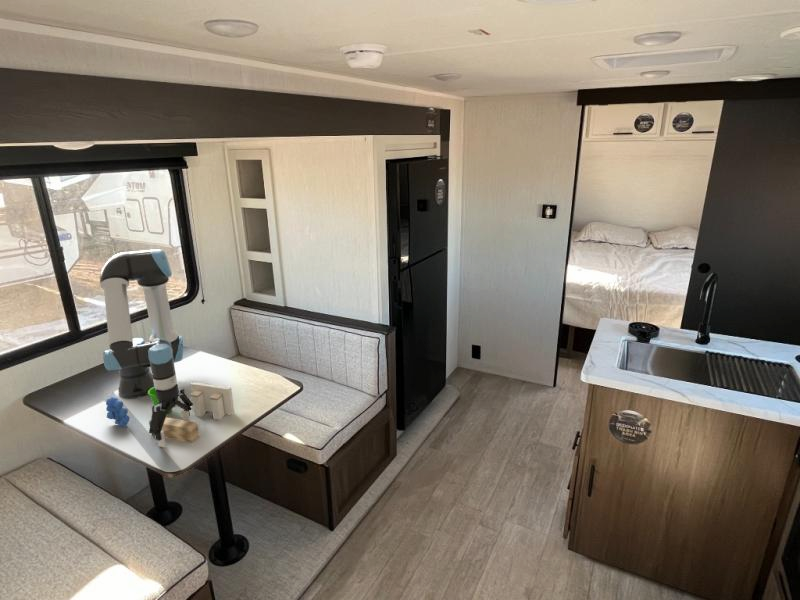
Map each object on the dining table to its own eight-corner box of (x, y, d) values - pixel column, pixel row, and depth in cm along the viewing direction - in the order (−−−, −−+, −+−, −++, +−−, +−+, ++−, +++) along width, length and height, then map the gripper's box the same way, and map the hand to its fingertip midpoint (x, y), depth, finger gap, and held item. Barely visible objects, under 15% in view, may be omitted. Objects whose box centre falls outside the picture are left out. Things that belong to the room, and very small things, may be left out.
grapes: (100, 426, 180) (94, 399, 176) (117, 418, 186) (111, 391, 182) (119, 434, 175) (112, 407, 171) (135, 425, 181) (130, 398, 177)
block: (151, 435, 175) (148, 421, 173) (159, 429, 179) (156, 415, 177) (192, 442, 171) (189, 428, 169) (199, 436, 174) (197, 422, 172)
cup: (151, 421, 184) (146, 397, 180) (153, 410, 191) (148, 386, 188) (176, 416, 187) (172, 392, 183) (177, 405, 195) (172, 382, 191)
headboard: (187, 414, 188) (183, 388, 184) (196, 407, 193) (192, 382, 189) (226, 421, 184) (222, 394, 180) (234, 413, 189) (231, 387, 185)
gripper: (149, 404, 155) (159, 457, 162) (197, 371, 178) (204, 418, 185) (130, 401, 157) (141, 454, 164) (181, 369, 180) (189, 416, 187)
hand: (175, 435), depth 174 cm, fingers open, 13 cm apart
